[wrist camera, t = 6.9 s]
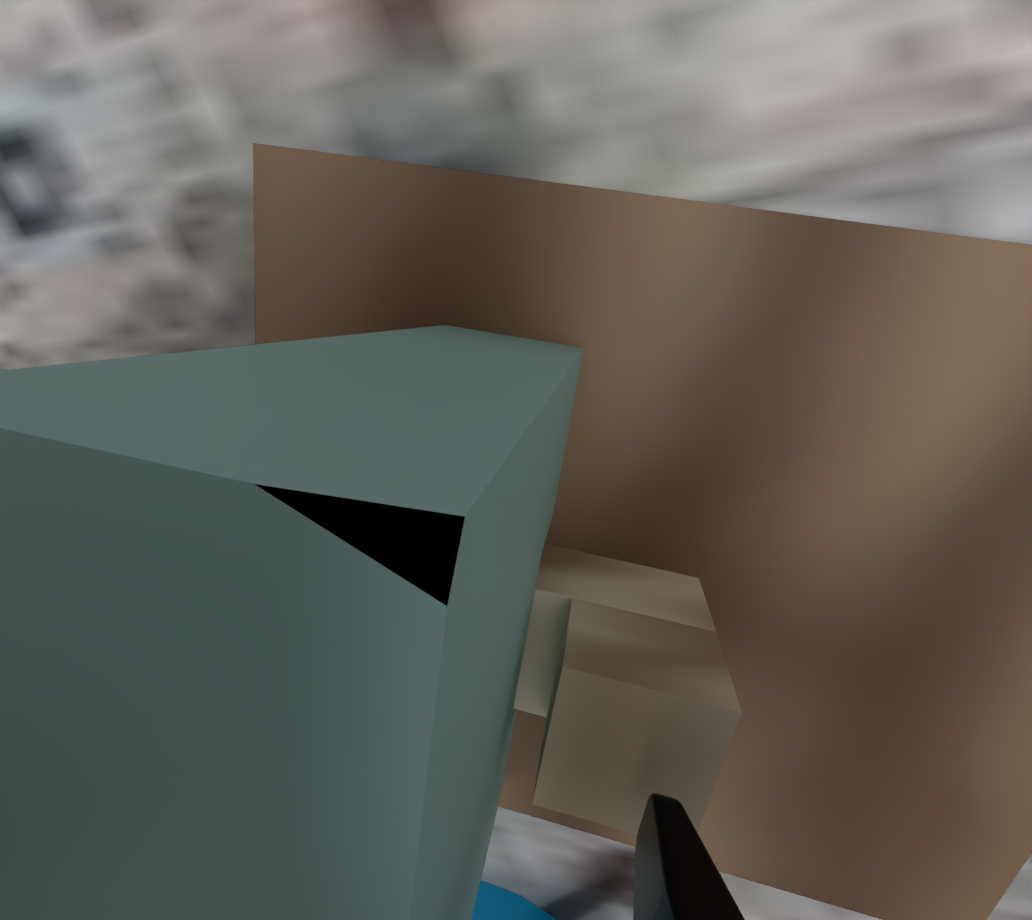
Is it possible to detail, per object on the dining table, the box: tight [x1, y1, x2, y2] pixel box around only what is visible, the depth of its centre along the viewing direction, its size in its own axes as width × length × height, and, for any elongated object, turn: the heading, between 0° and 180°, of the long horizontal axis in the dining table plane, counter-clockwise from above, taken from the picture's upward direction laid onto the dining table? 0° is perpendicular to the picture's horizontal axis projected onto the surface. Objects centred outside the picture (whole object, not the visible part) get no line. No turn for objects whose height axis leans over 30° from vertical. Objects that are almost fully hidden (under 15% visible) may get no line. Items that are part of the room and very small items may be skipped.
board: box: [253, 143, 1032, 920], centre depth 12 cm, size 20×16×1 cm
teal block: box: [0, 325, 584, 920], centre depth 8 cm, size 3×12×9 cm, turn 171°
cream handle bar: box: [391, 544, 742, 835], centre depth 11 cm, size 10×3×4 cm, turn 81°
